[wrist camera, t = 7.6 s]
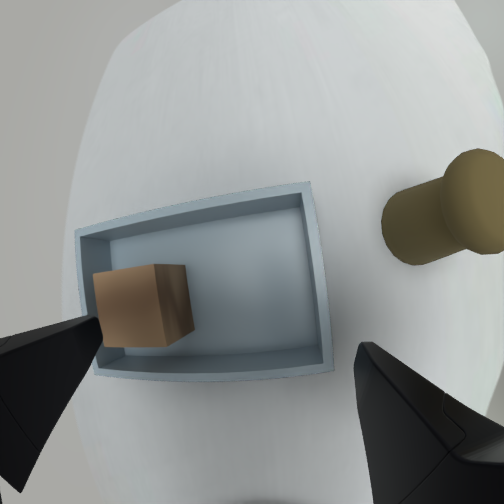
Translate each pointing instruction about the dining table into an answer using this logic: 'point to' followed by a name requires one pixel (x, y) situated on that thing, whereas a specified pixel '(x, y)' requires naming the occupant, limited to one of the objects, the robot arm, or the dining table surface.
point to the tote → (223, 286)
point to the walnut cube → (143, 305)
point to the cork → (449, 212)
